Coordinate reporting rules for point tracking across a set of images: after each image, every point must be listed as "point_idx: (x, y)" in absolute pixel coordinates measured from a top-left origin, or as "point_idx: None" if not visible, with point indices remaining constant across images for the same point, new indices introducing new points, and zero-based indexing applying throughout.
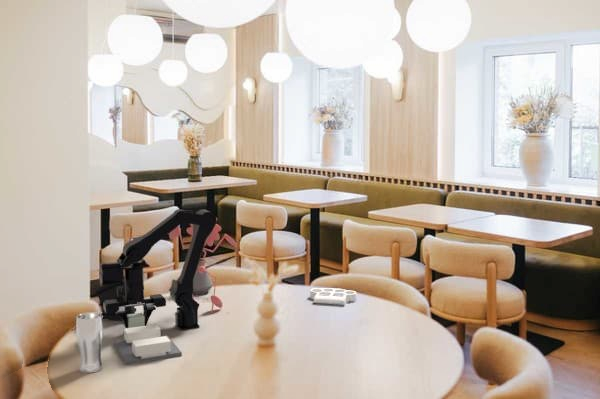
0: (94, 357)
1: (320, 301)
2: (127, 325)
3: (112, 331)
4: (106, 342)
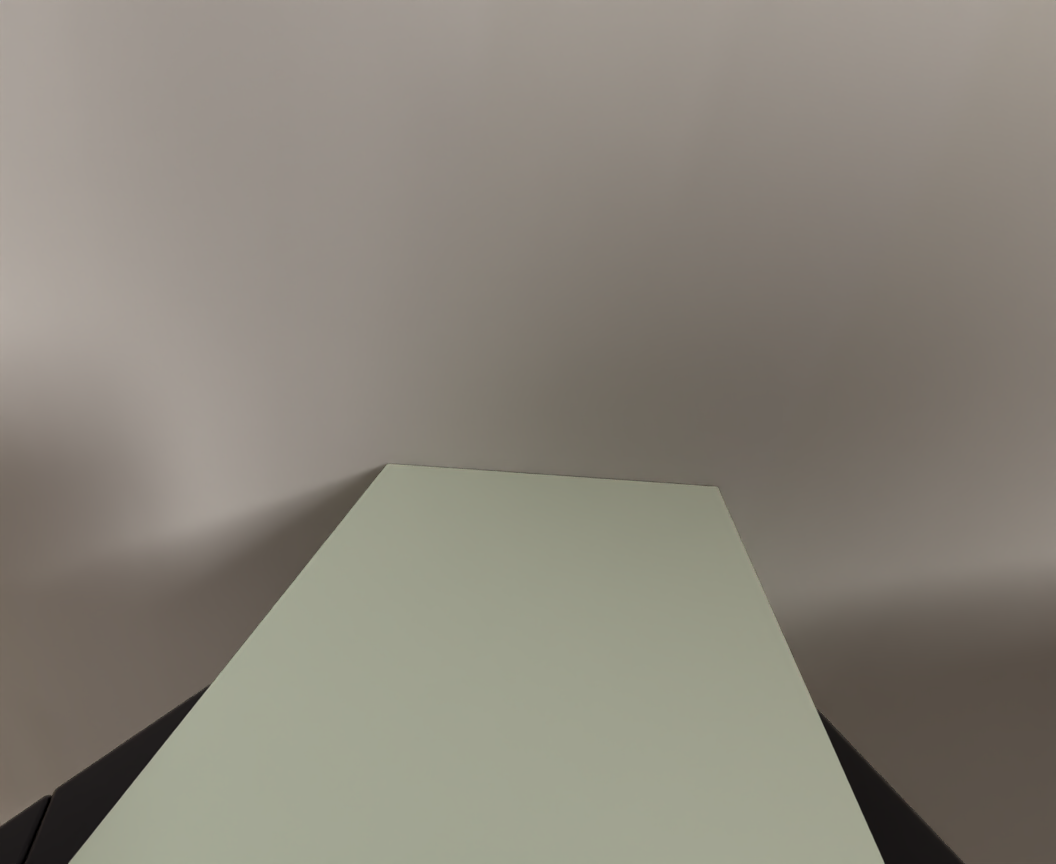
0: None
1: None
2: None
3: (100, 229)
4: (92, 699)
